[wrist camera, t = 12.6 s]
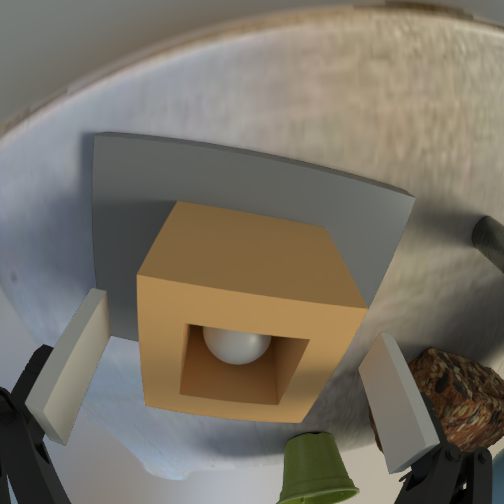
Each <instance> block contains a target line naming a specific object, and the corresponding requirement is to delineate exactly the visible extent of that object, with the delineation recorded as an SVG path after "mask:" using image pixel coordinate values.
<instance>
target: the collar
mask: <svg viewBox="0 0 504 504" xmlns="http://www.w3.org/2000/svg"><path fill="white" fill-rule="evenodd" d="M137 309H138V331H139V347H140V360H141V372H142V382H143V391H144V400H145V406H149V407H154V408H159V409H165V410H170V411H176V412H182V413H188V414H195V415H202V416H209V417H217V418H226V419H236V420H248V421H263V422H285V423H301V422H302V420H303V419H304V417H305V416H306V414H307V413H308V412H309V410H310V409H311V407H312V405H313V404H314V402H315V401H316V399H317V398H318V396H319V395H320V393H321V392H322V390H323V388H324V387H325V385H326V384H327V382H328V380H329V379H330V377H331V375H332V374H333V372H334V370H335V369H336V367H337V365H338V364H339V362H340V360H341V359H342V357H343V355H344V353H345V352H346V350H347V348H348V346H349V344H350V343H351V341H352V339H353V337H354V335H355V334H356V332H357V330H358V328H359V326H360V324H361V322H362V320H363V318H364V317H365V315H366V313H367V311H368V307H367V305H366V303H365V301H364V299H363V297H362V295H361V293H360V291H359V289H358V288H357V286H356V284H355V282H354V280H353V278H352V276H351V274H350V272H349V270H348V268H347V266H346V265H345V263H344V261H343V259H342V257H341V255H340V253H339V252H338V250H337V248H336V246H335V244H334V243H333V241H332V239H331V237H330V235H329V234H328V232H327V230H326V228H325V227H321V226H316V225H311V224H306V223H300V222H295V221H290V220H285V219H280V218H274V217H269V216H264V215H258V214H253V213H247V212H241V211H236V210H230V209H224V208H218V207H213V206H207V205H200V204H194V203H188V202H182V201H177V203H176V204H175V206H174V208H173V209H172V211H171V213H170V215H169V216H168V218H167V220H166V222H165V223H164V225H163V227H162V229H161V230H160V232H159V234H158V236H157V238H156V239H155V241H154V243H153V245H152V247H151V249H150V251H149V252H148V254H147V256H146V258H145V260H144V262H143V264H142V266H141V268H140V269H139V271H138V273H137ZM203 326H206V327H213V328H219V329H226V330H233V331H240V332H248V333H256V334H264V335H272V339H271V342H270V344H269V347H268V348H267V350H266V351H265V352H264V353H263V355H262V356H260V357H259V358H258V359H256V360H254V361H252V362H250V363H247V364H240V365H236V364H229V363H226V362H224V361H221V360H220V359H218V358H217V357H216V356H214V355H213V354H212V352H211V351H210V350H209V348H208V347H207V345H206V343H205V340H204V335H203Z"/></svg>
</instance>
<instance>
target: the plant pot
mask: <svg viewBox="0 0 504 504" xmlns="http://www.w3.org/2000/svg"><path fill="white" fill-rule="evenodd" d="M359 492H360V491H359V488H357V487H355V486H354V483H353V481H352V480H351V479H350V478H349V476H348V473H347V471H346V469H345V466H344V463H343V461H342V458H341V456H340V453H339V450H338V448H337V445H336V443H335V440H334V437H333V436H332V435H331V434H329V433H324V432H321V433H319V434H311V433H307V434H303V435H300V436H297V437H294V438H292V439H290V440H289V441H288V442H287V444H286V446H285V454H284V473H283V487H282V491H281V493H280V500H279V501H278V502H277V503H276V504H335V503H339V502H343V501H345V500H348V499H350V498H352V497H354V496H355V495H357V494H358V493H359Z"/></svg>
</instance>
